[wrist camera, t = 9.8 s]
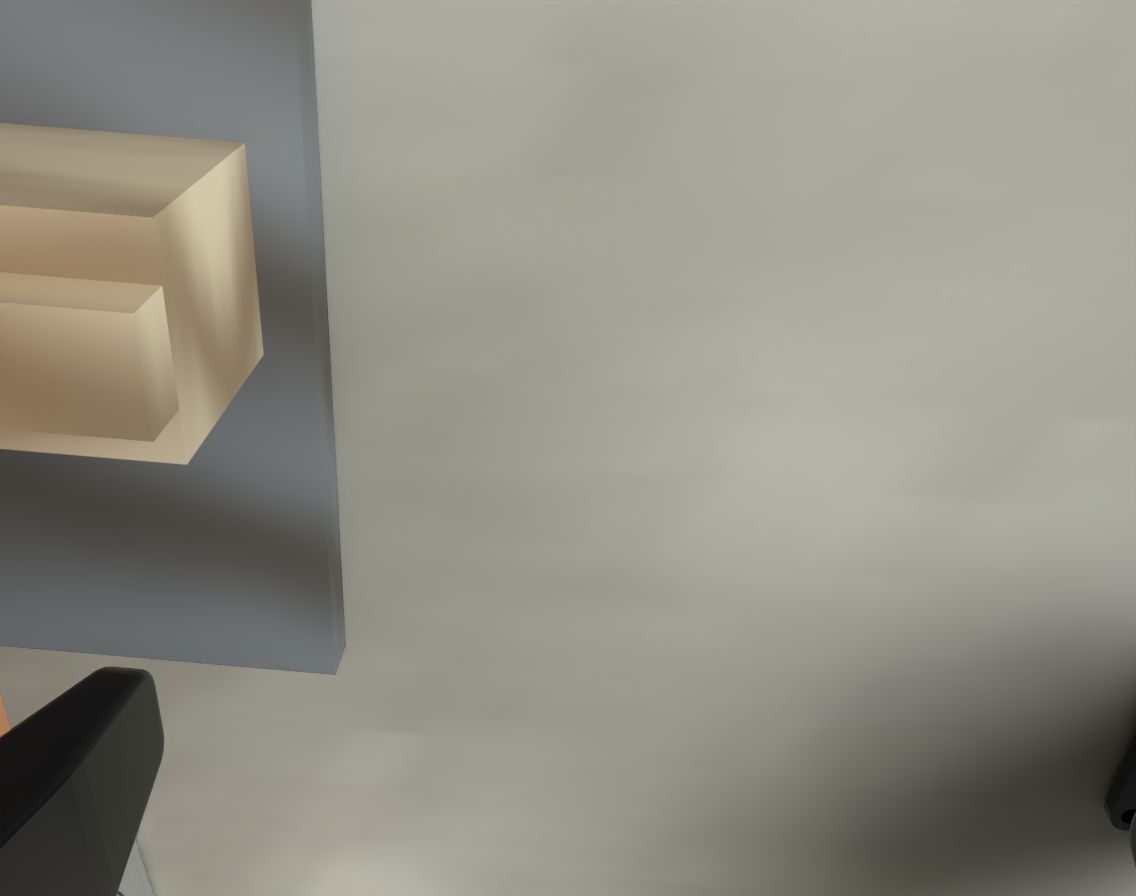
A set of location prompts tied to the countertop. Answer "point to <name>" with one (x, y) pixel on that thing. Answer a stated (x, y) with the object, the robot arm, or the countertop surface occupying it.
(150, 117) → the ridge
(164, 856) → the countertop surface
